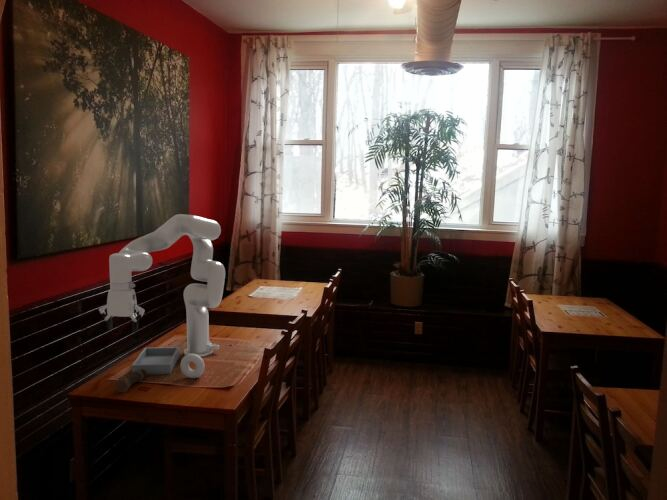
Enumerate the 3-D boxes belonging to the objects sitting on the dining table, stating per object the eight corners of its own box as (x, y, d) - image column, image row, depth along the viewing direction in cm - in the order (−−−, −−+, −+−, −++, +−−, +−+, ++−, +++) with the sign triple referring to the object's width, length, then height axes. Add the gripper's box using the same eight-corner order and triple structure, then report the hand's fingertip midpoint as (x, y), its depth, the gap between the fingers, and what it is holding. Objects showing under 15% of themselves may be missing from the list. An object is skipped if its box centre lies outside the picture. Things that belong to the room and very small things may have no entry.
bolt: (145, 381, 213) (123, 396, 198) (135, 374, 213) (112, 388, 199) (152, 370, 212) (129, 383, 197) (142, 363, 212) (119, 376, 198)
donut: (206, 377, 213) (205, 353, 212) (202, 380, 210) (202, 356, 208) (182, 375, 215) (182, 351, 213) (179, 378, 212) (178, 354, 210)
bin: (180, 355, 237) (179, 347, 236) (170, 374, 216) (170, 364, 215) (145, 356, 235) (144, 347, 234) (132, 374, 214) (131, 365, 214)
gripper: (147, 285, 203) (148, 328, 206) (103, 283, 204) (105, 326, 207) (139, 289, 196) (140, 334, 198) (93, 287, 197) (95, 332, 199)
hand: (122, 330), depth 203 cm, fingers open, 9 cm apart
